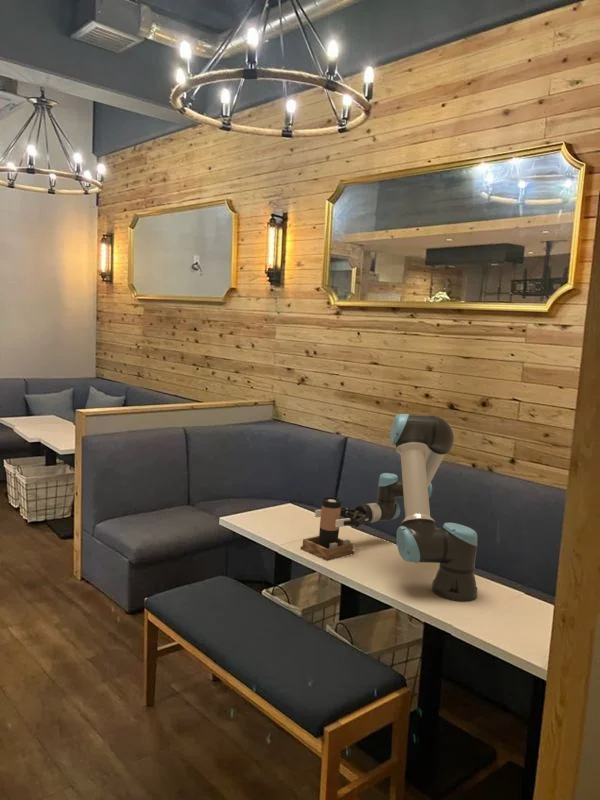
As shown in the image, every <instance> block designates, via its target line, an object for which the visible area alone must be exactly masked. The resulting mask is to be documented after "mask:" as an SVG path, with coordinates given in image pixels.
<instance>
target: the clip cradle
mask: <svg viewBox="0 0 600 800" xmlns="http://www.w3.org/2000/svg"><path fill="white" fill-rule="evenodd" d="M353 548H354V543H352V542H351V540H350V539H342V538H339V537H338V542H337V543H330V544H329V549H327V548H325V547H322V546H320V545H319V535H315V536H312V537H311V536H310V537H308V538H304V539H303V538H302V545H301V546H300V550H302V551H304V552H307V553H308V552H309V554H311V555H312V556H315V557H317V558H319V559H321V558H322V559H321V560H324V561H326V562H327V561H331V560H336V559H340V558H344V557H347V555H348V556H352V555H354V554H355V551H354V549H353ZM351 554H352V555H351ZM343 556H344V557H343ZM335 558H336V559H335Z"/></svg>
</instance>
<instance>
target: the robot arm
mask: <svg viewBox="0 0 600 800" xmlns="http://www.w3.org/2000/svg"><path fill="white" fill-rule="evenodd" d="M389 435H390V436H389V442H390V445H392V446H395V450H396V453H398V454H399V455H400V461H401V462H400V463H401V464H400V465H401V474H402V475H401V476H402V477H401V478H402V479H398V478H399V477H398V475H397V474H396V473H390V472H383V473H381V474H380V475H379V479H378V483H377V484H378V488H377V500H376V502H371V503H366V504H365V503H363V504H358V505H357V506H356V508H350V507H349V506H346V507H342V506H341V512H340V517H343V518H340V519H339V520H336V523H335V527H339V528H342V527H348V526H351V527H353V526H354V527H355V528H359V527H361V526H362V525H364V524H367V523H371V524H373V523H375V522H383V521H391V520H395V519H397V518H399V516H400V514H401V508H400V504H399V503H398V502H397V501H396V499H397V498H403V507H404V508H403V509H404V519H403V520H402V521H401V522H400V525H401V526H399V527H398V528H397V530H396V546H397V551H398V554H399V555H400V557H401V559H402V560H403V561H405V562H408V563H415V564H418V563H428V564H429V563H432V564H433V563H434V564H439V567H438V569H437V572H436V574H435V578H434V579H433V580H432V584H431V591H433V593H435V594H436V595H438V597H441V598H445V599H448V600H452V601H456V602H458V601H459V602H468V601H469V602H470V601H473V600H475V599H477V597H478V587H477V582H476V577H475V566H476V559H477V558H476V557H477V548H478V533H477V531H475V530H474V529H473V528H471V527H469V526H466V525H463V524H459V523H455V522H444V523H443V525H442V527H437V525H436V520H435V519H434V518H432V517H431V509H430V500H429V498H431V496H432V493H433V485H432V481H433V479H434V477H435V475H436V472H437V470H438V468H439V467H440V465H441V464H442V462H443V459H444V458H445V455H448V454H449V453H450V451H451V450H452V448H453V446H454V442H455V441H454V440H455V437H454V436H455V435H454V431H453V429H452V426H451V424H449V422H448V421H447V420H445V419H444V418H443V417H440V416H438V415H427V414H412V413H411V414H409V413H398V414H396V415H395V417H394V418H393V421H392V423H391V427H390V432H389ZM314 517H315V518H321V509H316V510H315V511H314Z"/></svg>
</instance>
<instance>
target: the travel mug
mask: <svg viewBox="0 0 600 800" xmlns="http://www.w3.org/2000/svg"><path fill="white" fill-rule="evenodd" d="M341 507H342V500H341V499H340V498H338V497H335V496H325V497H323V498H322V500H321V509H320V510H321V517H320V520H319V521H320V522H319V533H318V534H319V535H318V536H319V545H320V546H322V547H325V548H327V549H329V544H330V543H337V542H338V538H339V532H340V527H335V523H336V520H339V519H341V516H340V512H341Z"/></svg>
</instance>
